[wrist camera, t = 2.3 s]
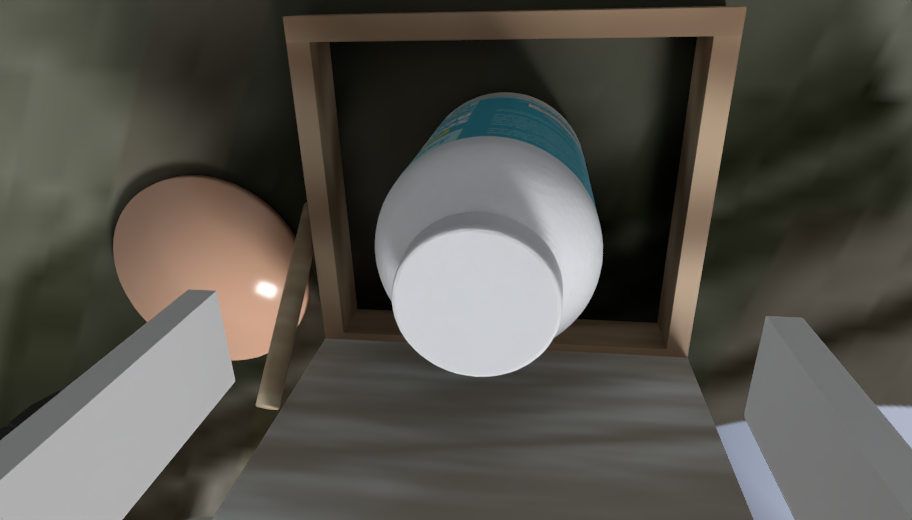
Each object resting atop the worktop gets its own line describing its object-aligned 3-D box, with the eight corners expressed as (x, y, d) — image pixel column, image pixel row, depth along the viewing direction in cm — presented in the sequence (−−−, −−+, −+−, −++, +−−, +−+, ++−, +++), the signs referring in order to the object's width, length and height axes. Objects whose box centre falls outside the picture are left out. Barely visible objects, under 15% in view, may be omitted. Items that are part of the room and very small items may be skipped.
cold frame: (281, 15, 26) (-93, 41, 11) (730, 6, 24) (1089, 22, 8) (322, 322, 33) (128, 613, 17) (677, 340, 30) (820, 697, 15)
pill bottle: (457, 64, 26) (384, 125, 14) (610, 123, 26) (672, 233, 14) (408, 211, 29) (315, 364, 17) (545, 262, 29) (549, 450, 17)
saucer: (97, 173, 31) (88, 176, 30) (295, 176, 29) (291, 179, 29) (147, 349, 35) (140, 354, 35) (321, 359, 34) (317, 365, 33)
